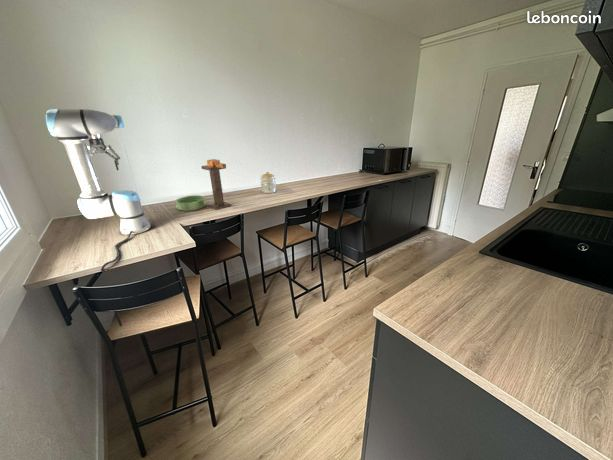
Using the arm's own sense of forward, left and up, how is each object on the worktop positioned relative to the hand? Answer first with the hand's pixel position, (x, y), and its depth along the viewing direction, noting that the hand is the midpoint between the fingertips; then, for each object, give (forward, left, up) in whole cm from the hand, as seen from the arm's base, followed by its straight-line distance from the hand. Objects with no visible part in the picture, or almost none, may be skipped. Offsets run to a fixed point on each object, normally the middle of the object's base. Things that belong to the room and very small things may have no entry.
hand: (105, 171), depth 171 cm
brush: (-34, -68, +2) cm, 76 cm away
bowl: (-20, -47, -28) cm, 59 cm away
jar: (-9, -113, -28) cm, 117 cm away
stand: (-29, -66, -28) cm, 77 cm away
